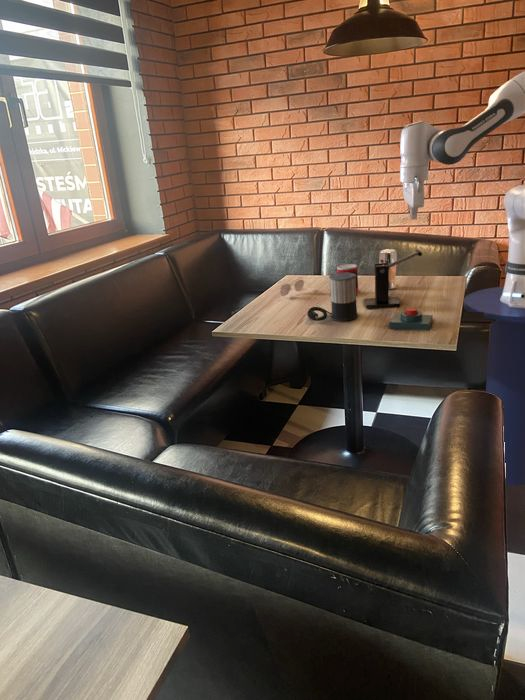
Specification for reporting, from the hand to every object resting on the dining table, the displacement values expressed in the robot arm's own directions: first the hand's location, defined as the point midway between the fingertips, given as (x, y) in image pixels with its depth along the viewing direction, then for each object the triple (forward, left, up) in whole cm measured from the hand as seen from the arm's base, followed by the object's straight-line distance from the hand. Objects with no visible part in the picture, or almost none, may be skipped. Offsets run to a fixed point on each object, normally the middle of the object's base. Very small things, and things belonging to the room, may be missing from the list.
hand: (413, 218), depth 179 cm
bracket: (+12, +1, -31) cm, 33 cm away
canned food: (+32, -6, -31) cm, 45 cm away
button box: (-9, +17, -31) cm, 37 cm away
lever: (+7, -3, -17) cm, 18 cm away
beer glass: (+22, -20, -31) cm, 43 cm away
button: (-9, +17, -27) cm, 34 cm away
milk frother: (+18, +23, -31) cm, 43 cm away
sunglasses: (+49, +5, -31) cm, 58 cm away
